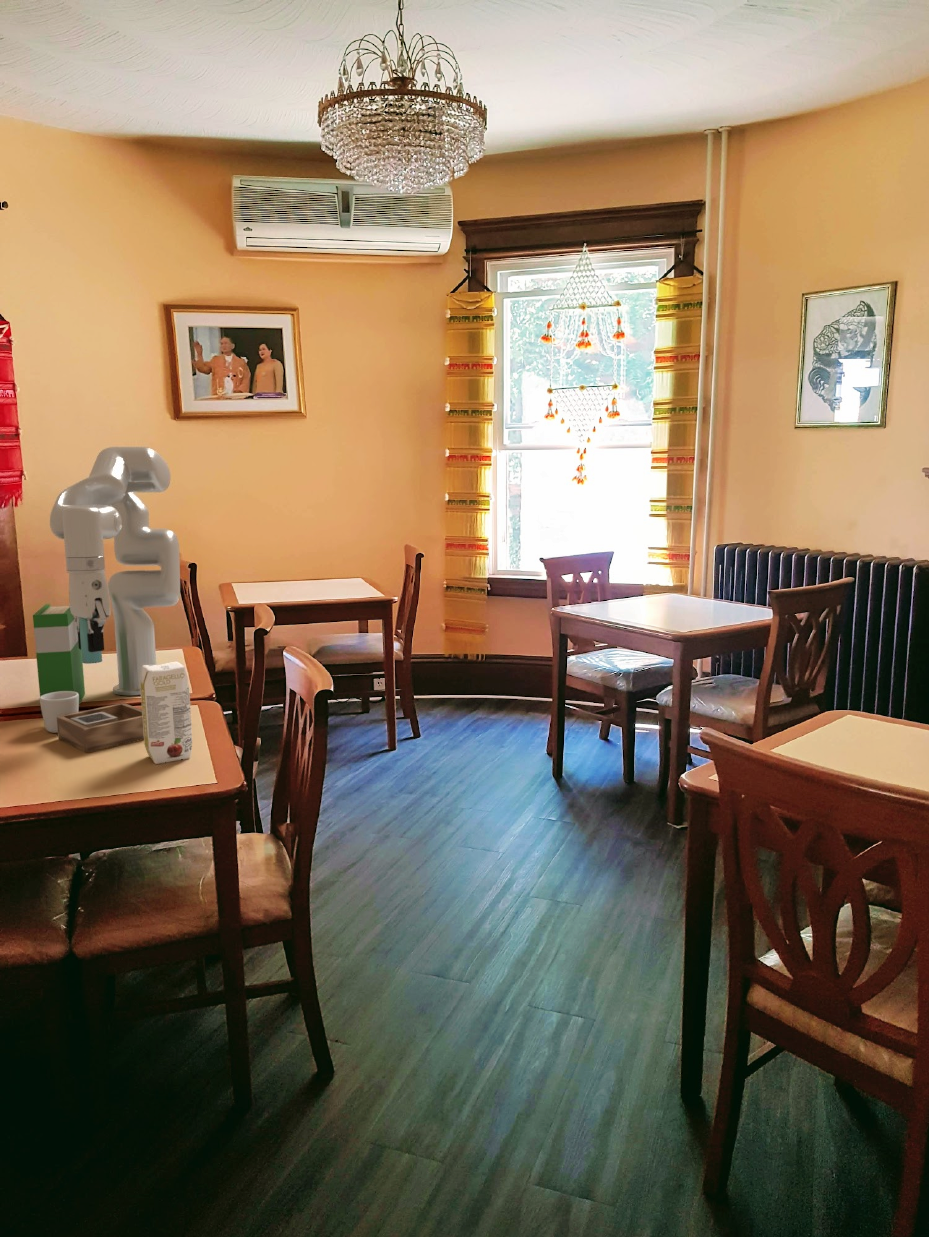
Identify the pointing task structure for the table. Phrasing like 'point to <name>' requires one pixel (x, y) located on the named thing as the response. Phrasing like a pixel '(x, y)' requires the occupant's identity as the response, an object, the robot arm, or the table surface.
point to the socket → (95, 719)
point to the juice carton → (166, 712)
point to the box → (102, 728)
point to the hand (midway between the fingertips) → (91, 649)
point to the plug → (86, 655)
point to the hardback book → (58, 651)
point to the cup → (58, 707)
